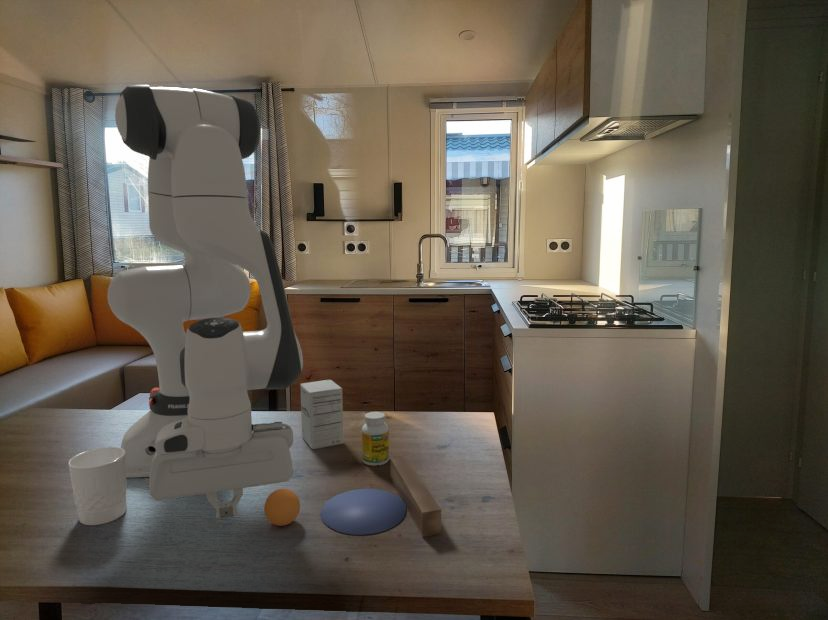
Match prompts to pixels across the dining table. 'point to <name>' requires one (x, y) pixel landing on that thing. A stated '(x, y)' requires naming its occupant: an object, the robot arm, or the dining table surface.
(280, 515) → the ball
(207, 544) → the dining table surface
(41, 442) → the dining table surface
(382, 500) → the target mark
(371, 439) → the supplement bottle
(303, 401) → the supplement box
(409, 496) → the rail
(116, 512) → the white cup
